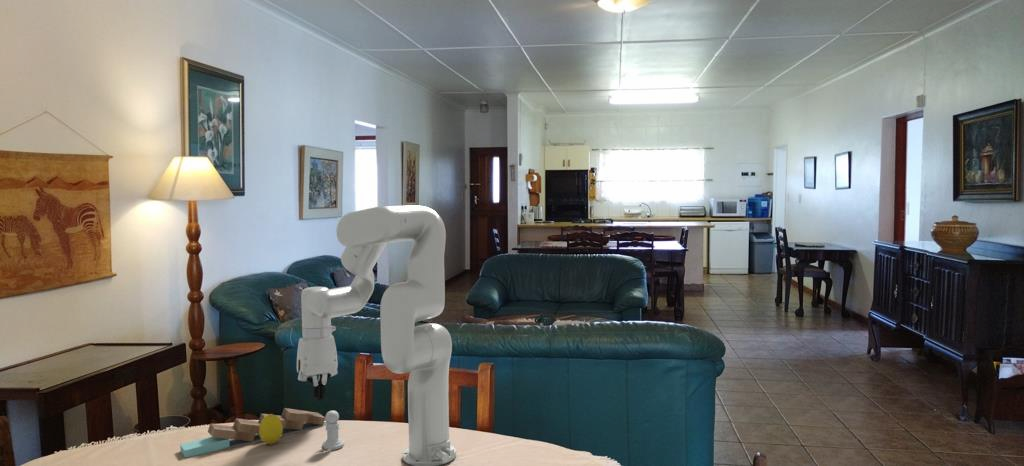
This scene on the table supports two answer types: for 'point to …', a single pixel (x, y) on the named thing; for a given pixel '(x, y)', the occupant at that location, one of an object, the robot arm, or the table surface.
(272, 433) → the lemon
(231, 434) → the domino
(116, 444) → the table surface
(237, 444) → the grey flat board
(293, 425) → the domino
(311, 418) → the domino
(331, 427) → the chess piece
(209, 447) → the domino end
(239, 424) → the domino
